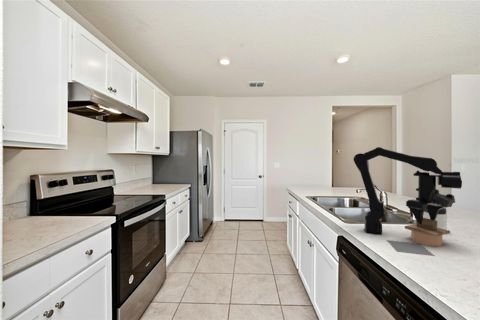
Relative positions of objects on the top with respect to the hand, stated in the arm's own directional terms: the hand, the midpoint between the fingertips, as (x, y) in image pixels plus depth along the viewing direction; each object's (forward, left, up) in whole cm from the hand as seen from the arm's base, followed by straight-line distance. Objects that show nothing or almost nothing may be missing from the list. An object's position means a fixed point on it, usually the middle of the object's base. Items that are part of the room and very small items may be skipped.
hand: (426, 222), depth 92 cm
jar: (+11, +18, -9) cm, 23 cm away
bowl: (0, 0, -9) cm, 9 cm away
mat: (-10, -10, -9) cm, 17 cm away
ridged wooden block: (0, 0, -4) cm, 4 cm away
